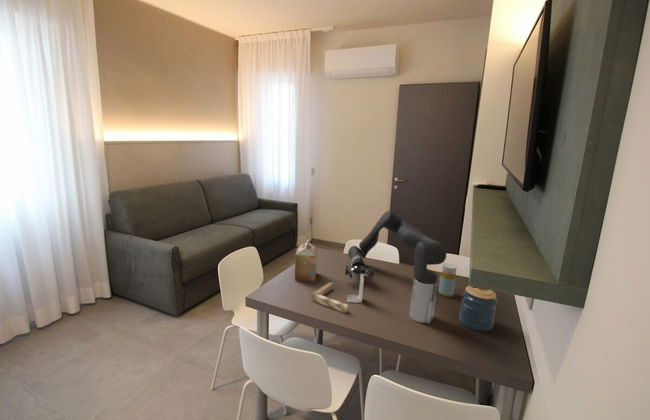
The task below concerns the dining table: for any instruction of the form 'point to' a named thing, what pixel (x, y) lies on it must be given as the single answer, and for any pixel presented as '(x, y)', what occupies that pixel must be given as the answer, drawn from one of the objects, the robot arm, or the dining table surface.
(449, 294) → the bottle
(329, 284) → the wooden l-shaped corner
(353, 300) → the bracket
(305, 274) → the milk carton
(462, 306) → the canister
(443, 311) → the dining table surface
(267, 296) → the dining table surface
